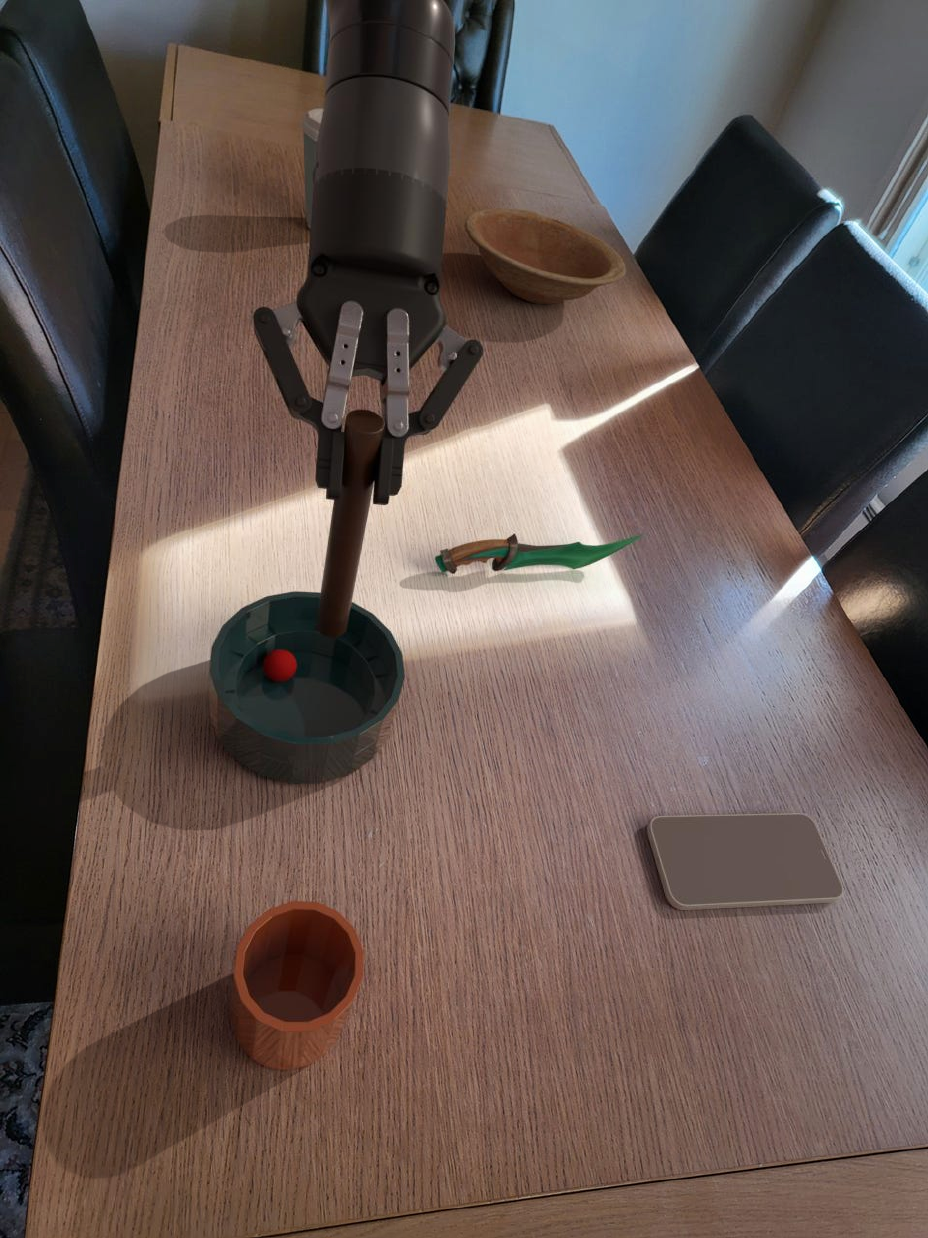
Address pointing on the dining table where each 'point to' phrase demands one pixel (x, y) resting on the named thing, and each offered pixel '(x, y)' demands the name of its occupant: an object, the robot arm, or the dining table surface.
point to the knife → (525, 554)
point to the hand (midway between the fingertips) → (357, 500)
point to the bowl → (542, 255)
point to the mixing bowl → (303, 690)
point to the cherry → (279, 665)
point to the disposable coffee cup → (310, 155)
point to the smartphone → (742, 860)
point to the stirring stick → (349, 520)
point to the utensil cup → (294, 983)
